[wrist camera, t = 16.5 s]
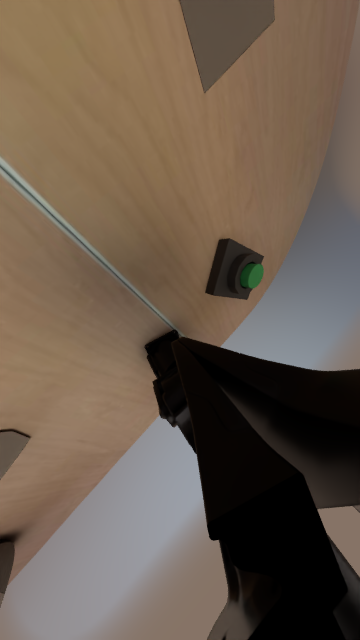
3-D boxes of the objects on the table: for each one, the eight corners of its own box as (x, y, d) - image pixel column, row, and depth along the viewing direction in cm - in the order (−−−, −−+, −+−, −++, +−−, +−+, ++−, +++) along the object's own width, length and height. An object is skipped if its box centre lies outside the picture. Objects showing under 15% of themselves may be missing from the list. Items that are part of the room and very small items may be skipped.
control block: (253, 256, 27) (273, 256, 24) (239, 297, 30) (255, 301, 27) (219, 239, 21) (239, 236, 18) (205, 292, 24) (220, 297, 21)
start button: (256, 266, 24) (266, 266, 22) (248, 287, 25) (257, 289, 24) (244, 261, 21) (254, 261, 20) (236, 285, 23) (245, 287, 21)
